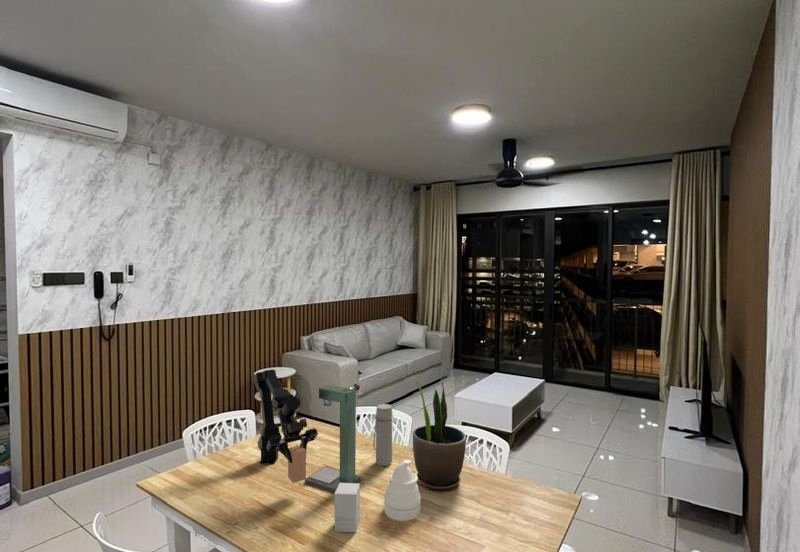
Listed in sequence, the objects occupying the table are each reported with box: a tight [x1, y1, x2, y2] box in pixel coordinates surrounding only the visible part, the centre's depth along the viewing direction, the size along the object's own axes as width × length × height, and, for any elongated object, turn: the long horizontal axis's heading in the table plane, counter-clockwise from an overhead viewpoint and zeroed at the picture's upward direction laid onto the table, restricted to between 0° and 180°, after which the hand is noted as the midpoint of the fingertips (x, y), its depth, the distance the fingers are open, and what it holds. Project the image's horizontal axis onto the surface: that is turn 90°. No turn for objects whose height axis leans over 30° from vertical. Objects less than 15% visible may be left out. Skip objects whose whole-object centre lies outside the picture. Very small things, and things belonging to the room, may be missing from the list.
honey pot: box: [383, 459, 422, 522], centre depth 150 cm, size 13×13×18 cm
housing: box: [287, 444, 307, 484], centre depth 159 cm, size 5×5×12 cm
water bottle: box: [373, 403, 394, 467], centre depth 186 cm, size 9×8×25 cm
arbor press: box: [304, 383, 362, 493], centre depth 172 cm, size 18×20×38 cm
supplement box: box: [333, 483, 361, 533], centre depth 140 cm, size 7×7×13 cm
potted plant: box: [412, 380, 467, 493], centre depth 170 cm, size 21×22×40 cm
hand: (298, 460), depth 158 cm, fingers closed on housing, 5 cm apart
